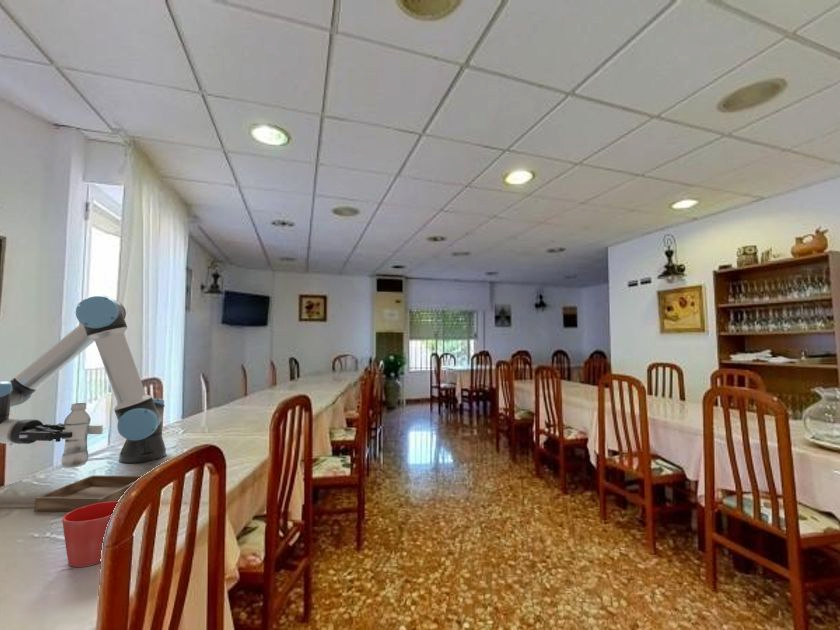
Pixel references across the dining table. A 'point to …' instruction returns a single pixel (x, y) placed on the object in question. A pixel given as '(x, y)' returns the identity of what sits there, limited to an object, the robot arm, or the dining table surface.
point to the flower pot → (86, 533)
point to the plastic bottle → (76, 448)
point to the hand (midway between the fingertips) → (93, 432)
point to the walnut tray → (84, 493)
